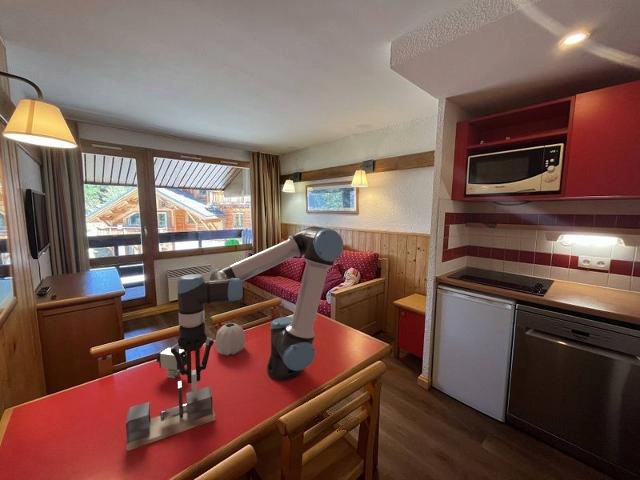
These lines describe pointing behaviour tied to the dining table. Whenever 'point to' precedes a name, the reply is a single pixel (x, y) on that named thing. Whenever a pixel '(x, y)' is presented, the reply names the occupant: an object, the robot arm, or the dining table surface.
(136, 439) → the base
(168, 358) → the pneumatic valve
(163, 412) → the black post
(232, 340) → the vase
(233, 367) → the dining table surface
